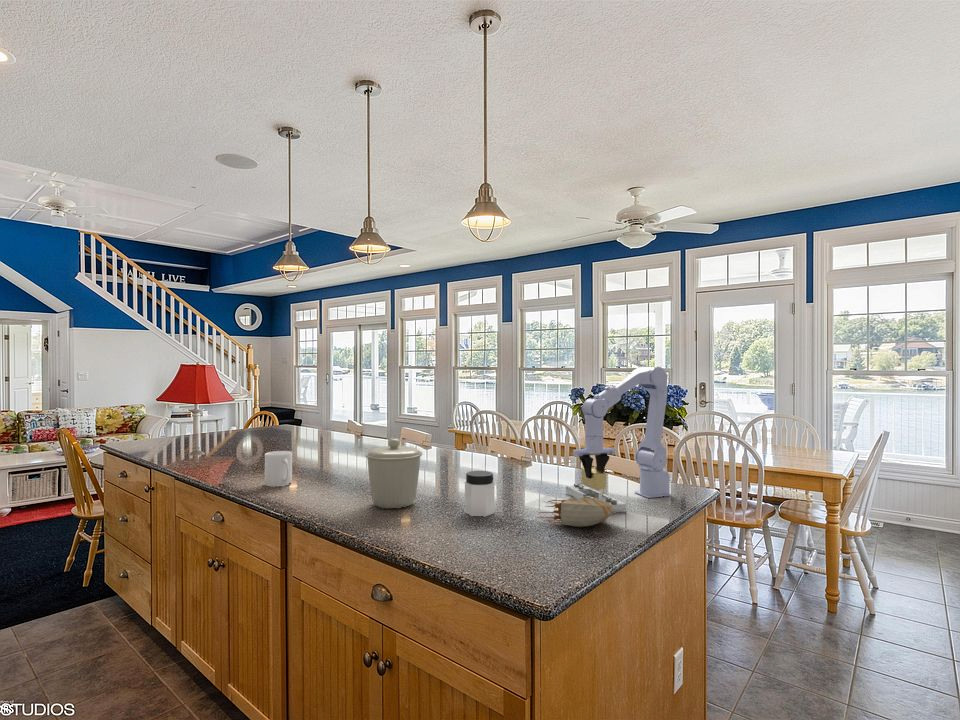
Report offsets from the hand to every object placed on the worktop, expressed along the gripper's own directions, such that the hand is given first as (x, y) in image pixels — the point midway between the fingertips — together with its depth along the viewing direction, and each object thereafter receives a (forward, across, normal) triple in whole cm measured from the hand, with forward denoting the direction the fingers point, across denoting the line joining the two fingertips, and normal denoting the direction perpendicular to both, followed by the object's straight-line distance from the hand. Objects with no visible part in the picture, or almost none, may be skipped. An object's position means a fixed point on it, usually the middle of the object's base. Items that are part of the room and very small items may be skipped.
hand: (594, 477), depth 172 cm
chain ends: (+8, 0, 0) cm, 8 cm away
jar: (+8, +40, 0) cm, 40 cm away
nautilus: (+8, +17, +18) cm, 27 cm away
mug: (+8, +98, -57) cm, 113 cm away
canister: (+8, +62, -17) cm, 65 cm away
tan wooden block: (+3, 0, 0) cm, 3 cm away
